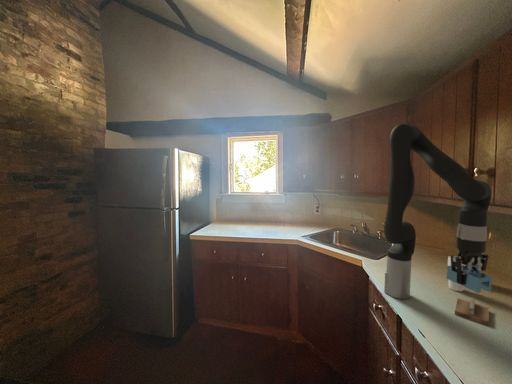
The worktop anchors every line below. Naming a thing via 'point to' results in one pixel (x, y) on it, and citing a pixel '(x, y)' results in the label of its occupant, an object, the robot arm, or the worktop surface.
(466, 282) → the block
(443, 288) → the worktop surface
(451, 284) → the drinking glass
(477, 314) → the rail stand
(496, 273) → the worktop surface
